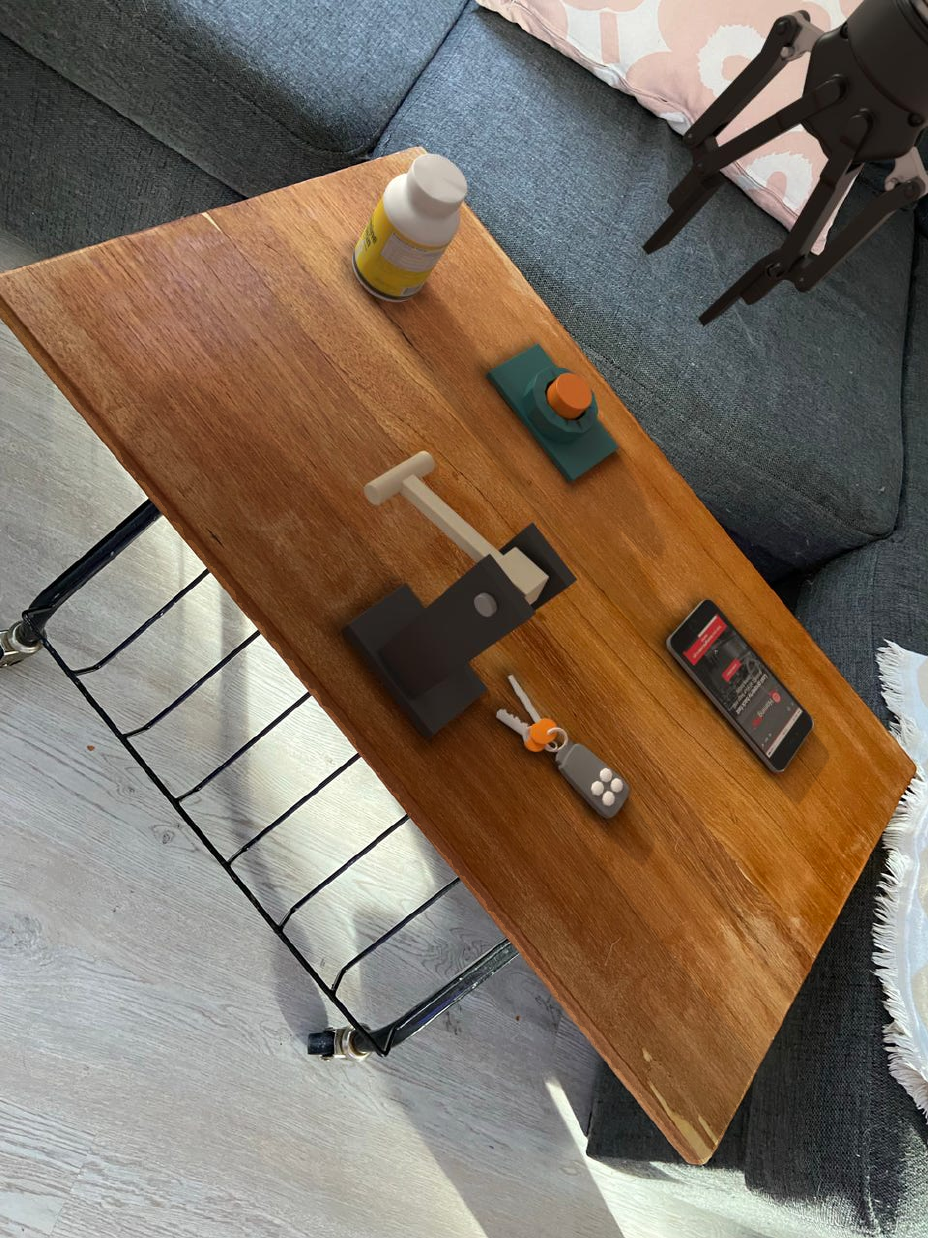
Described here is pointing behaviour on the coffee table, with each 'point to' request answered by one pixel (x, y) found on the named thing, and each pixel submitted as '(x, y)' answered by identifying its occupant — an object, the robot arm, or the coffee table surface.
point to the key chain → (571, 760)
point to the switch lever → (453, 522)
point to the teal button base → (551, 413)
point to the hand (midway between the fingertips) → (682, 280)
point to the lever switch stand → (450, 632)
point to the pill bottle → (410, 229)
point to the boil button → (569, 396)
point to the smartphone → (741, 685)
